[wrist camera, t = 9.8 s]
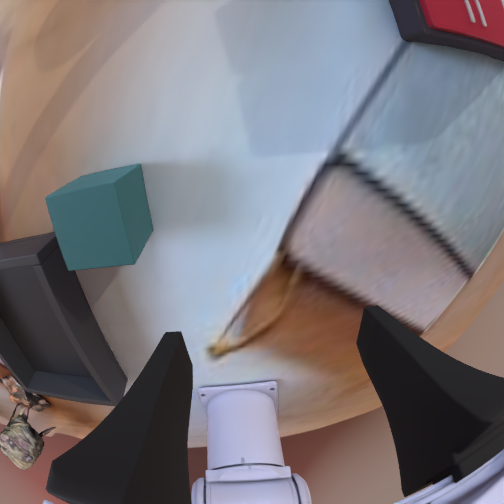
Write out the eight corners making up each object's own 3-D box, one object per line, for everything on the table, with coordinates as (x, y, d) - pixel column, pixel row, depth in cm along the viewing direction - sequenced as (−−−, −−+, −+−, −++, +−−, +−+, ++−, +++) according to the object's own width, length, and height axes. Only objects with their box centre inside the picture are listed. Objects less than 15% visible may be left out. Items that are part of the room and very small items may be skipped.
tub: (127, 379, 25) (121, 407, 22) (36, 370, 24) (26, 391, 21) (61, 230, 17) (36, 254, 14) (-30, 250, 16) (-50, 268, 13)
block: (153, 230, 18) (135, 264, 14) (95, 237, 18) (68, 271, 14) (141, 163, 16) (115, 180, 12) (80, 176, 15) (44, 197, 11)
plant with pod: (40, 416, 30) (15, 510, 13) (-5, 371, 25) (-46, 472, 7) (69, 418, 30) (45, 527, 12) (18, 370, 24) (-26, 491, 7)
